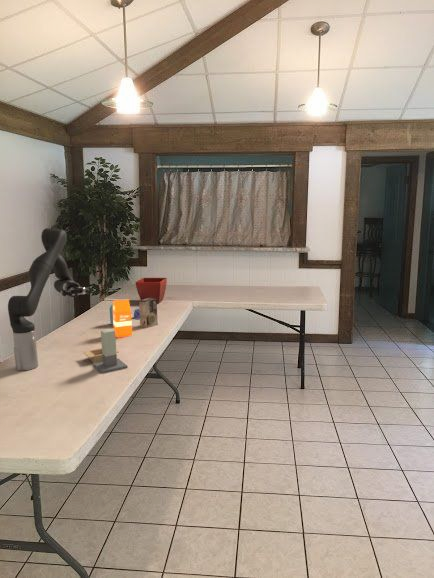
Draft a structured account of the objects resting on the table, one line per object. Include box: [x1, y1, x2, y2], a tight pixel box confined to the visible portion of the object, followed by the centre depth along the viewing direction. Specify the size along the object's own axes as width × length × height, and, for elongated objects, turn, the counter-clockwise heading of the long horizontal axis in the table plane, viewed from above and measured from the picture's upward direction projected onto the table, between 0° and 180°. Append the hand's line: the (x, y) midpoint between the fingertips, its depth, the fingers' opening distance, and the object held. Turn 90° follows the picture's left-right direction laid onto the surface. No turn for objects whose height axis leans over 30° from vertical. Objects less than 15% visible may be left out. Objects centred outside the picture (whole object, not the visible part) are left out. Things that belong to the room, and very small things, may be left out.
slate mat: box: [92, 357, 128, 374], centre depth 208 cm, size 12×12×1 cm
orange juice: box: [112, 298, 133, 338], centre depth 257 cm, size 8×9×20 cm
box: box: [100, 328, 118, 367], centre depth 207 cm, size 5×5×16 cm
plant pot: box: [135, 277, 168, 304], centre depth 342 cm, size 19×19×17 cm
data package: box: [109, 304, 114, 326], centre depth 281 cm, size 12×4×12 cm, turn 96°
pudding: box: [131, 308, 140, 320], centre depth 298 cm, size 12×12×5 cm
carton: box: [82, 347, 120, 364], centre depth 219 cm, size 15×10×4 cm, turn 122°
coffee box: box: [138, 298, 159, 329], centre depth 276 cm, size 9×6×16 cm
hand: (80, 293), depth 224 cm, fingers open, 8 cm apart
